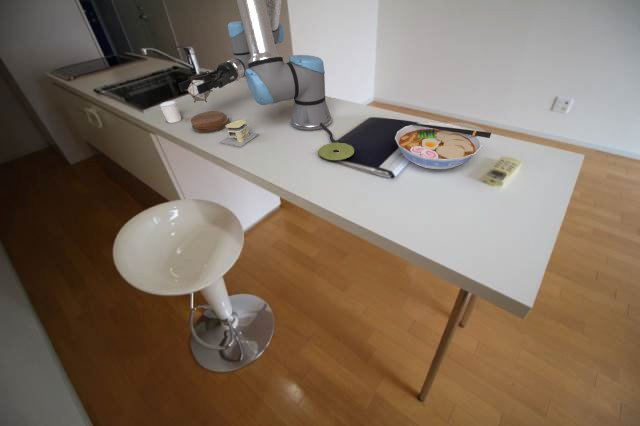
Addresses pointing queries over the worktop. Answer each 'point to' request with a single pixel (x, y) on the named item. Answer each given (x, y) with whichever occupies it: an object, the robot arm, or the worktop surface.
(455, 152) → the ramen bowl
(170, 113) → the white cup
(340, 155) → the green disc with hole
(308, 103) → the robot arm
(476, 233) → the worktop surface
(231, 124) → the stacked layers on plate
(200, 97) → the grey faceted polyhedron
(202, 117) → the brown round disc
